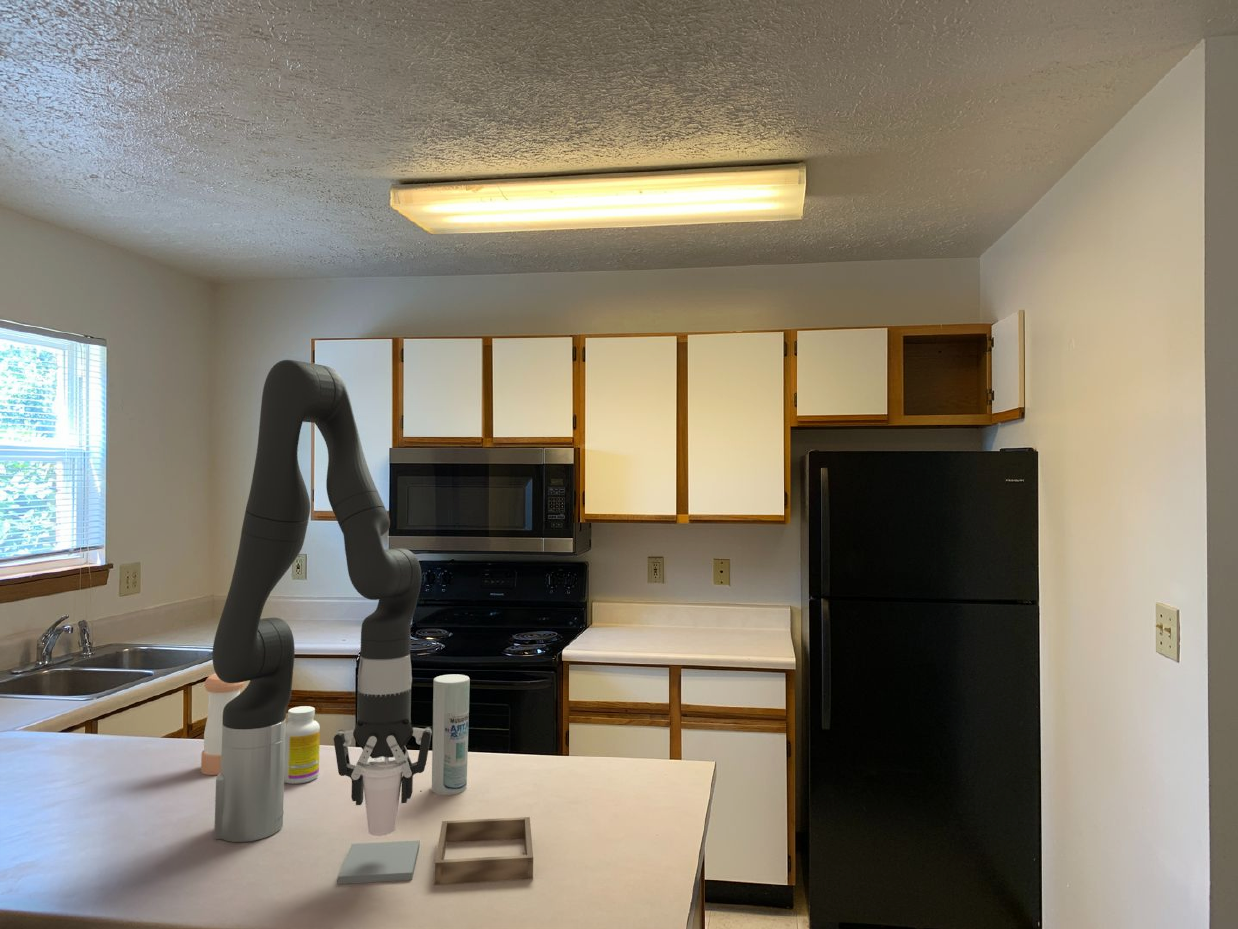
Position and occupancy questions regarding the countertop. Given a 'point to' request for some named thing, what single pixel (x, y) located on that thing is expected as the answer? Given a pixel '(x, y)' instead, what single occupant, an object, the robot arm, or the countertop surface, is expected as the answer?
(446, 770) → the spray can
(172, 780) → the countertop surface
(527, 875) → the frame
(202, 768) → the salt shaker
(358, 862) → the mat
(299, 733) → the supplement bottle
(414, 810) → the countertop surface
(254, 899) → the countertop surface
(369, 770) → the smoothie
